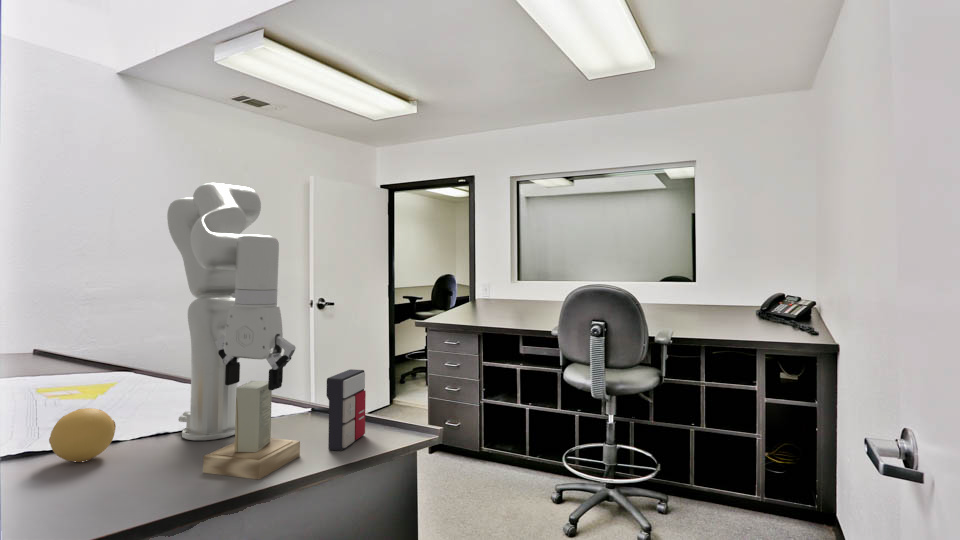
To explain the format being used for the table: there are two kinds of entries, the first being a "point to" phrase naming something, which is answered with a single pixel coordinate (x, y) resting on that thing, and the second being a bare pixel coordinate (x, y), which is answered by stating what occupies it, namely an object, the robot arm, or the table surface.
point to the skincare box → (252, 416)
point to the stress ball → (82, 434)
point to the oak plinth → (251, 459)
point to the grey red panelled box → (346, 408)
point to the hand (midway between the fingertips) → (253, 386)
